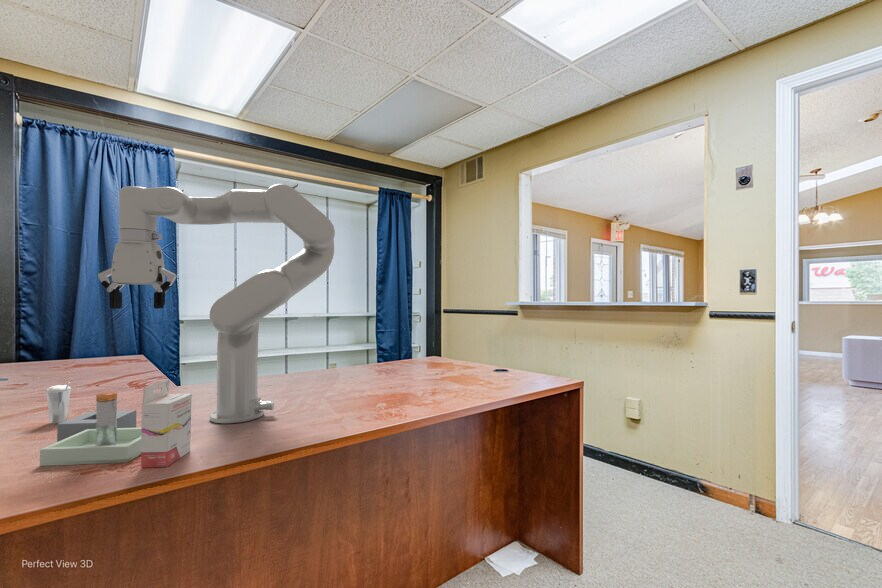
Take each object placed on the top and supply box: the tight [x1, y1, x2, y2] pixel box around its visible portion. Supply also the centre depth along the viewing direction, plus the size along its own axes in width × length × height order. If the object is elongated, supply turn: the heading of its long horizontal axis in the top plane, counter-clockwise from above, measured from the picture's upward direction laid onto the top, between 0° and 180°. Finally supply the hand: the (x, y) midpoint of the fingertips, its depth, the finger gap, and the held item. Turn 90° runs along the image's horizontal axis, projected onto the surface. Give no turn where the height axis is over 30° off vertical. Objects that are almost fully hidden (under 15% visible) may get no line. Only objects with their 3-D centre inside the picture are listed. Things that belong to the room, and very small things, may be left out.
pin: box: [95, 391, 118, 446], centre depth 84 cm, size 3×3×11 cm
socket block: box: [56, 409, 137, 442], centre depth 95 cm, size 10×10×4 cm
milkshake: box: [46, 381, 72, 425], centre depth 104 cm, size 4×5×10 cm
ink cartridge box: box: [140, 379, 193, 468], centre depth 81 cm, size 9×5×15 cm, turn 5°
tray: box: [39, 426, 142, 467], centre depth 84 cm, size 15×12×3 cm
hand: (137, 308), depth 102 cm, fingers open, 9 cm apart
